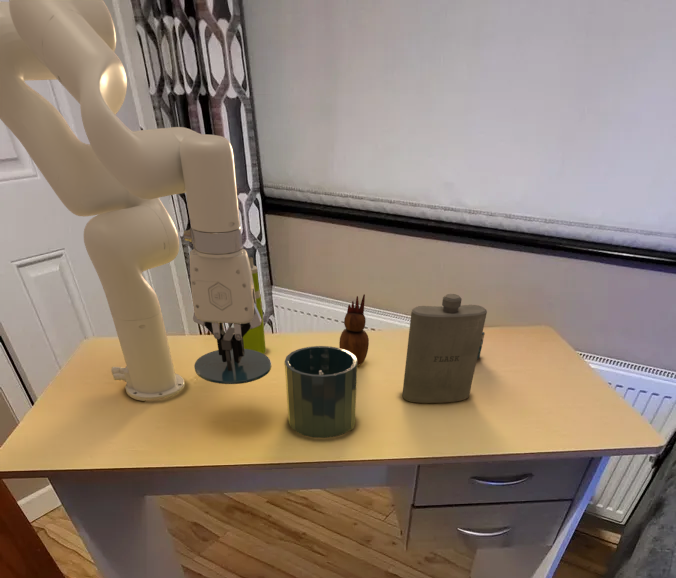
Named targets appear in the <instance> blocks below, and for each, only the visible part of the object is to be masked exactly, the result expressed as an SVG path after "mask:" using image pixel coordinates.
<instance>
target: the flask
mask: <svg viewBox="0 0 676 578" xmlns="http://www.w3.org/2000/svg"><path fill="white" fill-rule="evenodd" d="M461 297H462V296H460V295H459V294H455V293H448V294H445V295H444V296H443V297H442V302H441V306H438V305H437V306H435V305H434V306H433V305H418V306H416V307H413V308H412V309H411V311H410V312H411V313H410V321H409V329H408V330H409V331H408V338H407V347H406V356H405V367H404V376H403V383H402V384H403V386H402V393H401V396H402V398H403V400H404V401H407V402H411V403H416V404H417V403H418V404H445V403H447V404H448V403H455V402H461V401H464V400H467V399H469V397H470V395H471V390H472V384H473V380H474V375H475V370H476V366H477V361H478V359H477V357H478V352H479V347H480V342H481V338H482V333H483V332H484V328H485V323H486V318H487V313H488V310H487V309H486V308H485V307H483V306H481V305H478V304H464V305H463V304H462V300H463V299H462V298H461Z"/></svg>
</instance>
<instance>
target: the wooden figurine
mask: <svg viewBox="0 0 676 578" xmlns="http://www.w3.org/2000/svg"><path fill="white" fill-rule="evenodd" d="M365 300H366V294H365V293H364V294H363V295H362V299H361V301H360V303H359V296H358V295H356V298H355V301H354V300H352V301H351V304H348V305H347V311H346V313H345V315H344V319H343V323H344V324H343V325H344V329H343V331H341V333H340V337H339V343H338V344H339V345H338V348H341V349H344V350H347V351H349V352H350V353H352V354H353V355H355V357H356V358H357V366H361V365H363V363H364V362H365V360H366V358H367V356H368V351H369V344H370V342H369V341H370V337H369V335H368V333H367V332H366V330H364V329H365V327H366V324H367V323H366V322H367V321H366V320H367V319H366V316H365V314H364V313H365Z"/></svg>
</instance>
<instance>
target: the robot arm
mask: <svg viewBox="0 0 676 578" xmlns="http://www.w3.org/2000/svg"><path fill="white" fill-rule="evenodd" d="M116 47H117V33H116V28H115V22H114V20H113V17H112V14H111V12H110V10H109V7H108V6H107V4H106V3H105V1H104V0H8V1H1V0H0V120H1V121H2V123H3V124H4V125H5V126H6V127H7V128H8V130H9V131H10V132H11V133H12V134H13V135H14V136H15V138H17V140H18V142H20V143H21V145H22V147H23V148H24V149H25V151H26V153H27V154H28V156H29V157H30V158H31V160H32V161H33V163H34V164H35V166H36V167H37V168H38V170H39V171H40V173H41V174H42V176H43V177H44V179H45V180H46V182H47V183H48V185H49V186H50V187H51V189H52V190H53V192H54V193H55V195H56V196H57V197H58V199H59V200H60V202H61V203H62V204H63V205H64V207H65V208H66V209H67V211H69V212H70V213H71V214H73V215H75V216H77V217H92V216H93V217H92V218H90V219H89V220H88V222H87V223H86V225H85V227H84V228H83V243H84V247H85V249H86V252H87V255H88V257H89V259H90V261H91V263H92V265H93V267H94V269H95V272H96V274H97V276H98V279H99V281H100V283H101V286H102V289H103V292H104V295H105V298H106V301H107V304H108V308H109V311H110V314H111V317H112V321H113V324H114V328H115V332H116V334H117V339H118V342H119V345H120V348H121V352H122V356H123V358H124V359H123V360H124V362H125V365H126V366H125V367H121V366H112V367H111V369H110V370H111V374H112V377H113V380H114V381H124V382H126V384H125V386H124V387H125V391H126V392H125V393H126V394H127V396H128V397H130V398H132V399H134V400H136V401H140V402H146V401H155V400H163V399H167V398H170V397H173V396H175V395H177V394H179V393H180V392H182V391H183V390H184V388H185V385H186V383H185V379H184V378H183V377H182V376H181V375H180V374H178V373H176V371H175V366H174V362H173V358H172V353H171V349H170V344H169V340H168V335H167V331H166V326H165V321H164V317H163V313H162V309H161V305H160V300H159V297H158V294H157V293H156V291H155V290H154V288H153V287H152V286H151V285H150V284H149V282H148V281H147V280H146V279H145V277H144V276H143V273H144V272H146V271H149V270H152V269H155V268H158V267H161V266H164V265H167V264H169V263H171V262H172V261H174V260H175V259H176V257H178V254H179V252H180V238H179V232H178V230H177V228H176V226H175V223H174V221H173V219H172V217H171V215H170V213H169V212H168V210H167V209H166V207H165V205H164V204H163V202H162V200H161V199H160V198H165V197H169V196H174V195H181V194H185V195H186V196H185V197H186V203H187V208H188V215H189V216H188V217H189V219H190V220H189V221H190V228H189V229H187V230H183V239H184V241H186V242H189V243H191V245H192V248H193V249H192V250H190V251H189V276H190V277H189V278H190V289H191V300H192V306H193V308H192V309H193V316H192V321H193V322H194V323H196V324H197V325H200V326H202V327H205V328H206V329H207V330H208V331H209V332H210V333H211V334H212V335H213V337H214V339H215V340H216V343H217V350H218V351H219V355H222V361H223V362H227V359H226V352H225V350H222V343H221V340H222V338H223V336H224V334H225V333H226V330H225V329H224V324H233V328H234V332H235V335H234V340H233V349H234V357H235V362H236V363H240V360H241V358H242V357H244V342H243V336H244V335H245V334H246V333H247V332H248V331H249V329H253V328H255V327H258V326H260V325H261V323H262V319H261V316H260V314H259V312H258V309H257V307H256V297H255V289H254V283H253V277H252V272H251V267H250V263H249V259H248V257H249V255H248V252H247V250H246V249H245V248H243V240H242V229H241V220H240V209H239V199H238V190H237V189H238V188H237V178H236V168H235V157H234V150H233V146H232V144H231V142H230V141H229V139H227V138H226V137H224V136H221V135H216V134H203V133H200V132H198V131H195V130H192V129H190V128H187V127H184V126H171V127H159V128H151V129H141V130H132V129H130V128H129V127H128V126H127V125H126V124H125V123H124V122H123V121H122V120H121V119H120V118H119V117H118V116H117V114H118V113H119V112H120V110H121V108H122V107H123V104H124V102H125V100H126V95H127V89H128V77H127V72H126V69H125V66H124V65H123V64H124V63H123V62H122V60H121V59H120V57H119V56H118V54H117V53H115V52H116ZM53 80H54V81H55V80H57V81H58V82H59V83H60V84H61V86H63V88H65V90H67V92H68V93H69V94H70V95H71V96H72V97H73V99H75V101H76V102H77V103H78V104H80V105H79V107H80V108H79V109H80V114H81V115H80V117H81V122H82V125H83V128H84V132H85V134H86V138H87V140H88V142H89V144H88V143H85V142H83V141H81V140H80V139H79V138H78V136H77V135H76V133H74V131H73V130H72V128H71V127H70V126H69V124H68V122H67V120H66V119H65V118H64V116H63V114H62V113H61V112H60V111H59V110H58V108H56V107H55V106H54V105H53V104H52V103H51V101H49V100H48V99H47V98H46V97H44V96H43V95H42V94H40V93H39V92H37V91H36V90H35V89H33V88H32V87H31V86H29V85H28V84H27V83H26V81H53Z"/></svg>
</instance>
